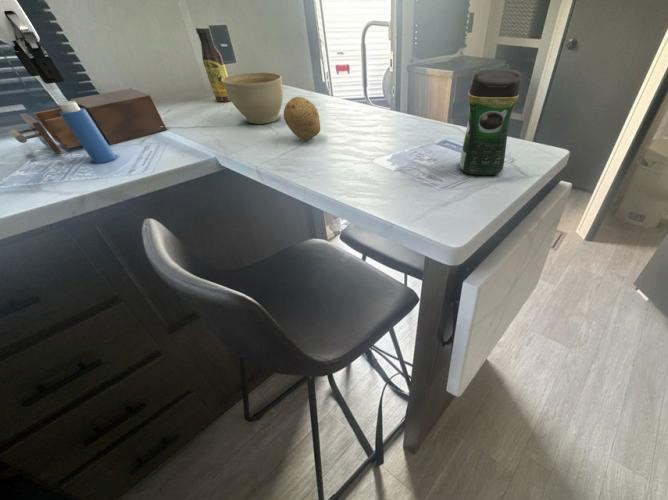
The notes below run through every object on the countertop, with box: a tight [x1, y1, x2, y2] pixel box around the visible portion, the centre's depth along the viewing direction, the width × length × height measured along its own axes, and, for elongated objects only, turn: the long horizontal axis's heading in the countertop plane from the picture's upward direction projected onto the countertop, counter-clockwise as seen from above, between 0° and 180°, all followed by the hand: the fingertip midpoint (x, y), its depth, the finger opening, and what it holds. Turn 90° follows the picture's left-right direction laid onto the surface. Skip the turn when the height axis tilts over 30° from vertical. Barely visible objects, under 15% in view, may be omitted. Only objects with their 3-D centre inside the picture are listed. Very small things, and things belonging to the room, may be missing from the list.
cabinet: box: [70, 88, 167, 145], centre depth 86 cm, size 15×13×9 cm
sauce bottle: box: [195, 26, 232, 103], centre depth 105 cm, size 6×6×20 cm
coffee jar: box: [459, 68, 521, 176], centre depth 65 cm, size 10×8×19 cm
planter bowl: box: [221, 71, 284, 125], centre depth 93 cm, size 16×16×11 cm
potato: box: [283, 96, 321, 142], centre depth 81 cm, size 9×9×10 cm
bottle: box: [58, 100, 117, 164], centre depth 72 cm, size 5×5×12 cm
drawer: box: [8, 106, 106, 155], centre depth 79 cm, size 18×11×7 cm, turn 142°
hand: (47, 78), depth 64 cm, fingers open, 9 cm apart
